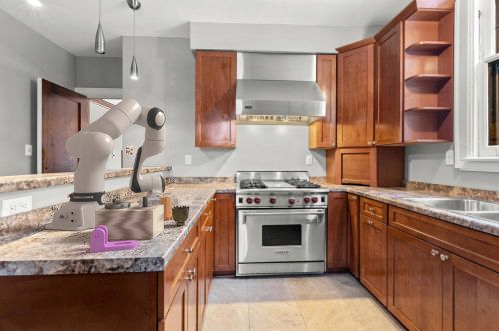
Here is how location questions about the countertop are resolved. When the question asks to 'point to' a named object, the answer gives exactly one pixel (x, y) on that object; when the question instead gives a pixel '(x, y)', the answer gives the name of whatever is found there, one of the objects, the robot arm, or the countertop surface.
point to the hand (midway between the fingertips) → (161, 203)
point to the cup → (180, 214)
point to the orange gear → (167, 207)
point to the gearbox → (131, 219)
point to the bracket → (101, 241)
